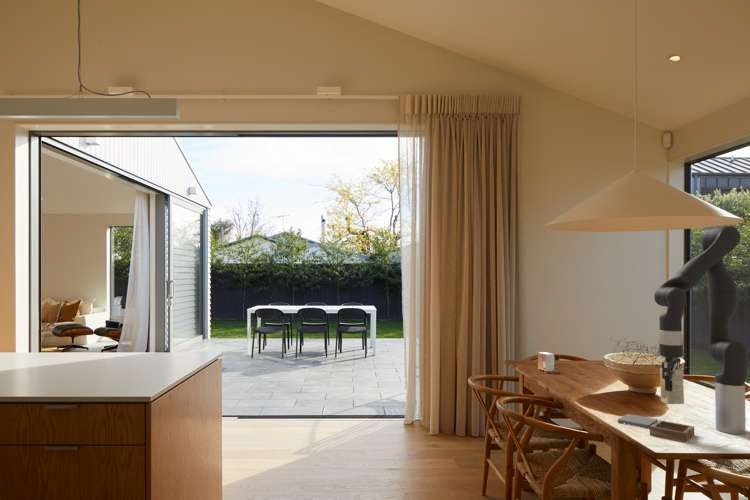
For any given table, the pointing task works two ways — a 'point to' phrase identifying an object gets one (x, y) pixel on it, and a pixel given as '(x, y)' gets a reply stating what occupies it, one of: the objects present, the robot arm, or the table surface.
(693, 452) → the table surface
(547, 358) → the small box
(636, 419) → the rubber mat
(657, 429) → the pocket holder
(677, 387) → the skincare box
